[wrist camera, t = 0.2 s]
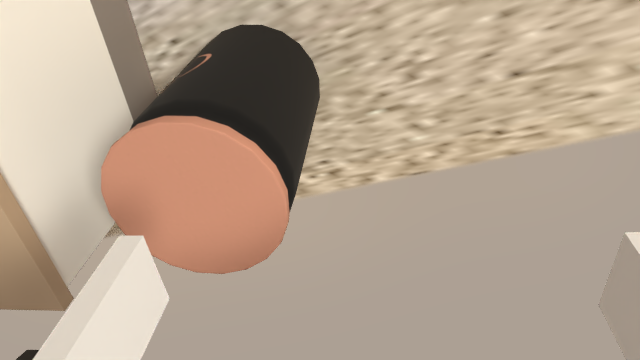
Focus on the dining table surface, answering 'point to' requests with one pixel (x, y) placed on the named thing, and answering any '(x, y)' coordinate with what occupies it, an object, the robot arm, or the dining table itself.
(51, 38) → the toe-kick cabinet
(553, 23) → the dining table surface
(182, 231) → the coffee jar
